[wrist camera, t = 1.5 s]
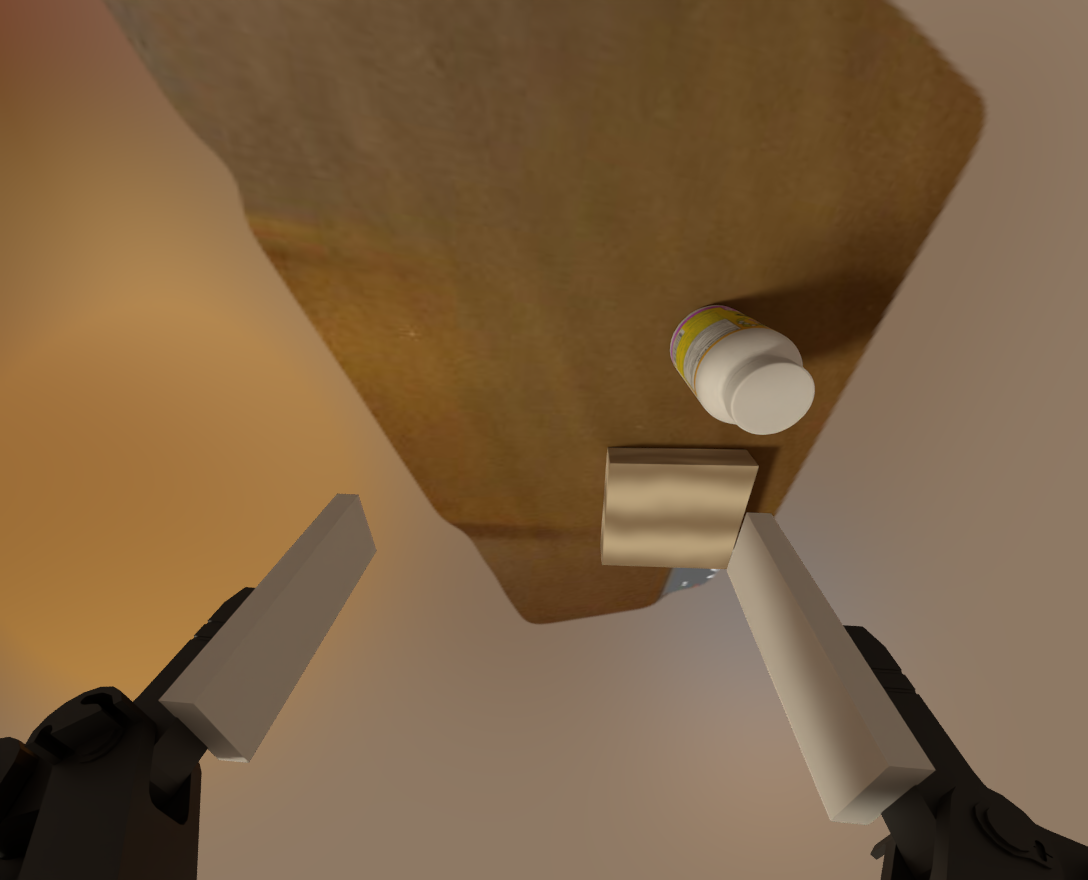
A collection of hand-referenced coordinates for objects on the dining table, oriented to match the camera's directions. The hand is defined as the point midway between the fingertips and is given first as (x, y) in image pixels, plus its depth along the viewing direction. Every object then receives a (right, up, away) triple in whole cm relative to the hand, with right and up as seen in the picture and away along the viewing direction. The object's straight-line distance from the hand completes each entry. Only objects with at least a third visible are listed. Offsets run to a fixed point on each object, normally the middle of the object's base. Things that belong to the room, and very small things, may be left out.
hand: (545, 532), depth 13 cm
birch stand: (+14, -4, +29) cm, 33 cm away
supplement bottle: (+14, +12, +21) cm, 28 cm away
